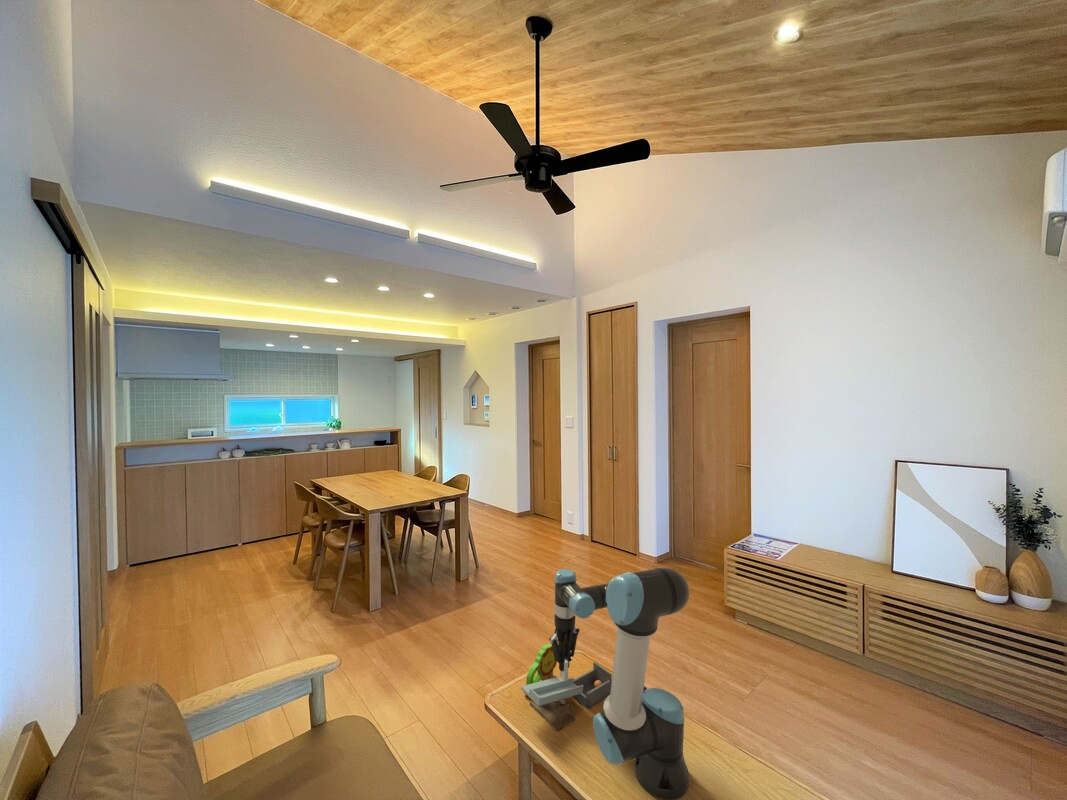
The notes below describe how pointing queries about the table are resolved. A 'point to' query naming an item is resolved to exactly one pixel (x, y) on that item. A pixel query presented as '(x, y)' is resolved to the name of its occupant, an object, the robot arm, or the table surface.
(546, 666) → the toy lion
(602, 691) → the pulled-out tray drawer
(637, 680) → the robot arm
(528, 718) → the table surface
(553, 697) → the lever
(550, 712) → the stand
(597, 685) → the ball
